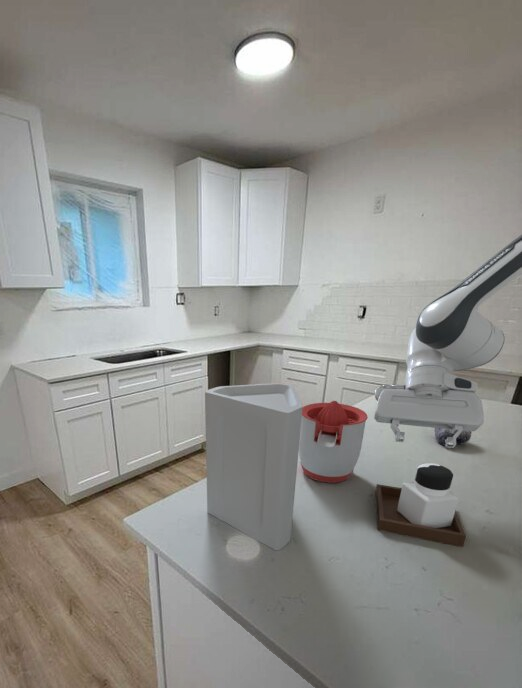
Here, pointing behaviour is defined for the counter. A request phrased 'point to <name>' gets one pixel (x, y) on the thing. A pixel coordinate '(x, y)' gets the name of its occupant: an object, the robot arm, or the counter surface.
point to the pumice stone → (445, 433)
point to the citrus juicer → (330, 440)
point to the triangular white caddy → (253, 458)
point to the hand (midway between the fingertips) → (424, 443)
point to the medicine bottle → (429, 497)
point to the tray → (400, 525)
